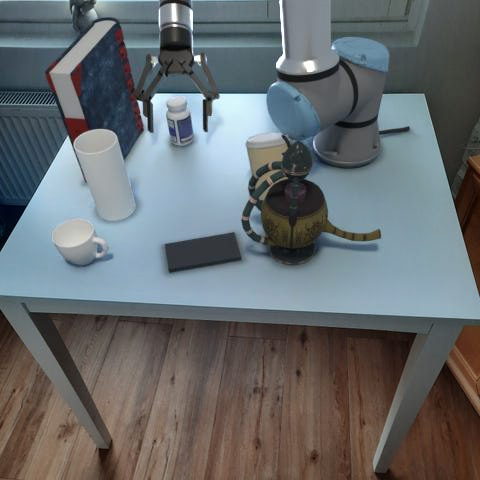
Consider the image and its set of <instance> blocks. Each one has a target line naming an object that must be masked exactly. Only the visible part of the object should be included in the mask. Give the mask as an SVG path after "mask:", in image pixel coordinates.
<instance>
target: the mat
mask: <svg viewBox="0 0 480 480" xmlns="http://www.w3.org/2000/svg"><path fill="white" fill-rule="evenodd" d="M164 249H165V255H166V262H167V269H168V273H169V274H171V273H176V272H182V271H187V270H193V269H199V268H205V267H210V266H215V265H221V264H226V263H232V262H238V261H242V254H241V250H240V247H239V243H238V240H237V236H236V233H235V231H232V232H227V233H226V232H225V233H221V234H215V235H210V236H203V237H198V238H191V239H186V240H185V239H184V240H179V241H174V242H169V243H164Z"/></svg>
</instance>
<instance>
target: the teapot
mask: <svg viewBox="0 0 480 480" xmlns="http://www.w3.org/2000/svg"><path fill="white" fill-rule="evenodd" d="M281 137H282V138H283V139H284V141H285V142H286V144H287V147H288V149H287V150H286V152H285V154H284V156H283V159H282V161H275V162H271V163H268V164H266V165H264V166H262V167H260V168H259V169H258V170H257V171H256V172H255V173H254V174H253V175H252V174H251V177H250V179H249V180H248V185H247V190H248V194H249V195H248V196H249V198H248V200H247V202H246V203H245V206H244V208H243V210H242V214H241V218H240V222H241V226H242V229H243V231H244V232H245V234H246V235H247V237H248V238H250V239H251V240H252V241H253V242H255V243H259V244H262V245H266V246H267V247H268V253H269V255H270V257H271V258H272V259H273V260H274V261H276V262H278V263H279V264H282V265H285V266H299V265H303V264H306V263H308V262H309V261H310V260H312V258H313V257H314V256H315V253H316V250H317V247H316V243H315V241H316V240H317V239H318V238H319V237H320V236H321V235H322V234H323V233H326V234H331V235H333V236H336V237H339V238H342V239H345V240H348V241H351V242H371V241H377V240H380V239H382V231H381V228H378V229H376V230H373V231H371V232H366V233H365V232H364V233H362V232H361V233H360V232H359V233H358V232H352V231H346V230H344V229H341V228H339V227H337V226H335V225H334V224H333V223H332V222H331V221H330V220H329V219H328V218H329V208H328V204H327V200H326V196H325V194H324V192H323V190H322V189H321V187H320V186H319V185H318V184H316V183H315V182H313V181H311V180H308V179H306V178H307V176H308V175H309V174H310V173H311V171H312V170H313V167H314V161H313V155H312V154H311V151H310V149H309V147H308V146H307V145H306V144H305V143H304V142H302V141H294V142H293V143H291V144H290V142H289V140H288V138H287V137H286V136H285V135H281ZM273 170H280V171H278V172H276V173H274V174H273V175H271V176H270V177H268V178H267V179H266V180H265V181H263V182H262V184H261V185H260V186H259V187H258V188H257V189H256V190H255V186H256V183H257V181H258V180H259V179H260V178H261V176H262V175H264V174H266V173H268V172H269V171H273ZM284 177H285V178H286V177H287V178H288V179H285V180H281V181H279V182H277V183H275V182H276V181H278V180H280V179H282V178H284ZM274 183H275V184H274ZM272 184H274V185H273V186H272V187H271V188H270V189H269V191H268V192H267V194H266V197H265V199H264V201H263V200H260V199H259V197H260V196H261V195H262V194H263V193H264V192H265V191H266V190H267V188H268V187H270V186H271V185H272ZM255 207H256V209H257V210H258V211H260V221H261V227H262V229H263V231H264V232H265V234H266V235H267V236H265V235H261V234H258V233H257V232H255V231H254V229H253V228H252V226H251V222H250V219H251V218H250V217H251V214H252V211H253V210H254V208H255Z"/></svg>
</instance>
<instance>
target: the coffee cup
mask: <svg viewBox="0 0 480 480" xmlns="http://www.w3.org/2000/svg"><path fill="white" fill-rule="evenodd" d="M281 135H284V134H282V133H281V132H280V131H270V132H263V133H258V134H254V135H252V136H250V137H247V138H246V141H245V143H244V144H245V148H246V152H247V157H248V162H249V167H250V172H251V176H252V175H253V174H254V173H255V172H256V171H257V170H258V169H259V168H260V167H262V166H264V165H266V164H268V163H271V162H275V161H282V159H283V156H284V154H285V152H286V150H287V149H288V147H287V144H286V142H285V141H284V139H283V138H282V137H281ZM285 136H286V137H287V138H288V140H289V142H290V144H291V145H292V139H291V138H289V135H285ZM278 171H280V170H273V171H269V172H268V173H266V174H264V175H262V176H261V178H260V179H259V180H258V181H257V183H256V186H255V190H256V189H257V188H258V187H259V186H260V185H261V184H262V182H263V181H265V180H266V179H267V178H268V177H270V176H271V175H273V174H274V173H276V172H278ZM285 179H288V178H287V177H286V178H285V177H284V178H282V179H280V180H278V181H276V182H275V183H277V182H279V181H281V180H285ZM275 183H274V184H275ZM274 184H272V185H271V186H270V187H268V188H267V190H266V191H265V192H264V193H263V194H262V195H261V196H260V197H259V199H260V201H262V202H263V201H264V199H265V197H266V194H267V192H268V191H269V189H270V188H271V187H272V186H273V185H274Z"/></svg>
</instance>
